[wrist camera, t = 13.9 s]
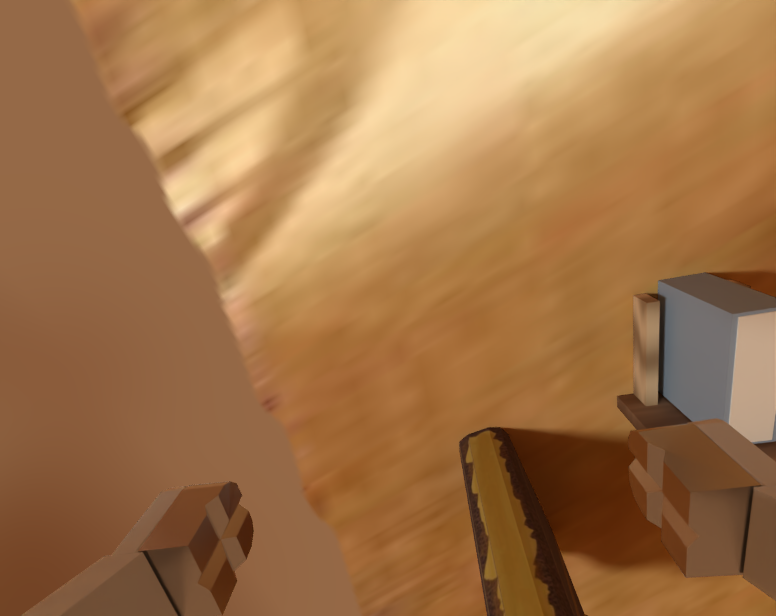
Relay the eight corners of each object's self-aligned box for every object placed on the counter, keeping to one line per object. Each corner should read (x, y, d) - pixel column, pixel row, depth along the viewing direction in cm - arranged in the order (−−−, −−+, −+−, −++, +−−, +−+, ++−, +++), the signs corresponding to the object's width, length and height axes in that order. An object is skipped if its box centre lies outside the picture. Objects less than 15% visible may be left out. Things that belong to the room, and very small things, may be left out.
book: (445, 442, 49) (476, 699, 25) (511, 419, 47) (611, 670, 23) (507, 562, 55) (579, 859, 31) (568, 546, 53) (691, 846, 30)
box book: (657, 280, 41) (733, 314, 31) (704, 272, 40) (796, 304, 30) (656, 388, 45) (722, 448, 35) (698, 383, 44) (777, 441, 35)
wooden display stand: (615, 298, 41) (710, 359, 28) (750, 276, 40) (917, 329, 27) (617, 407, 46) (700, 504, 32) (739, 390, 44) (878, 485, 31)
